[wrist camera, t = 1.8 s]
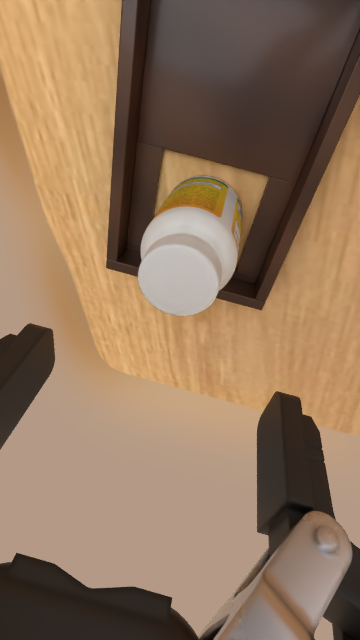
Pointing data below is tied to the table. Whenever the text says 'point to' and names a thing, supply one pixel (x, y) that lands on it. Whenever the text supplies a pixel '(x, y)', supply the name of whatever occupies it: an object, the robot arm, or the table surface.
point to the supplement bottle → (191, 246)
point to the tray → (231, 113)
